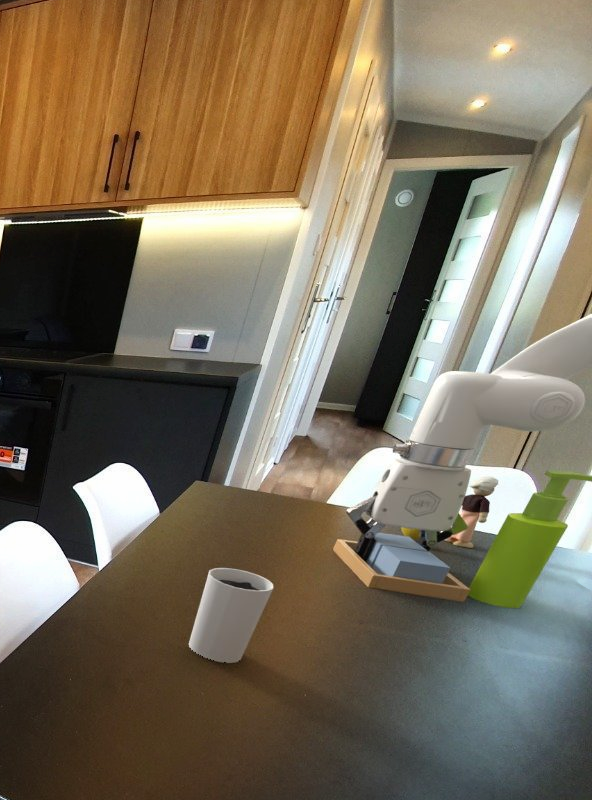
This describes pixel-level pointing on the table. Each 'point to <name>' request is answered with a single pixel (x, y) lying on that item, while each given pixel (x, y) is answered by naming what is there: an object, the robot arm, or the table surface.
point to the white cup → (228, 613)
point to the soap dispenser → (523, 546)
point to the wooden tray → (446, 590)
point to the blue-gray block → (391, 545)
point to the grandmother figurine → (474, 510)
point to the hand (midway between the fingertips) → (385, 560)
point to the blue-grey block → (410, 564)
